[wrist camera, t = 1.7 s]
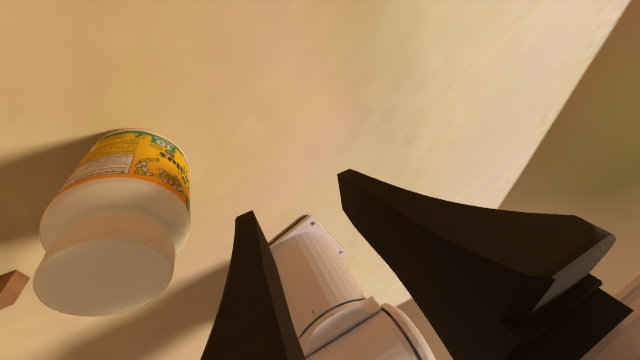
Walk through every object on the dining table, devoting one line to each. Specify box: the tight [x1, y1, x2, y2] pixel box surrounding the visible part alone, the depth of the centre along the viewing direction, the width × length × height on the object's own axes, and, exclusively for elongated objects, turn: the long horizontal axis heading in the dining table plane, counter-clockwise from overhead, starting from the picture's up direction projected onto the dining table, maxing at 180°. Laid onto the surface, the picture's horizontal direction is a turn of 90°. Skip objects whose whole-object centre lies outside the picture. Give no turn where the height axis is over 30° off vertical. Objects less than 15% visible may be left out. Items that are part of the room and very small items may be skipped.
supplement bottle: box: [33, 129, 190, 316], centre depth 13 cm, size 5×5×10 cm
